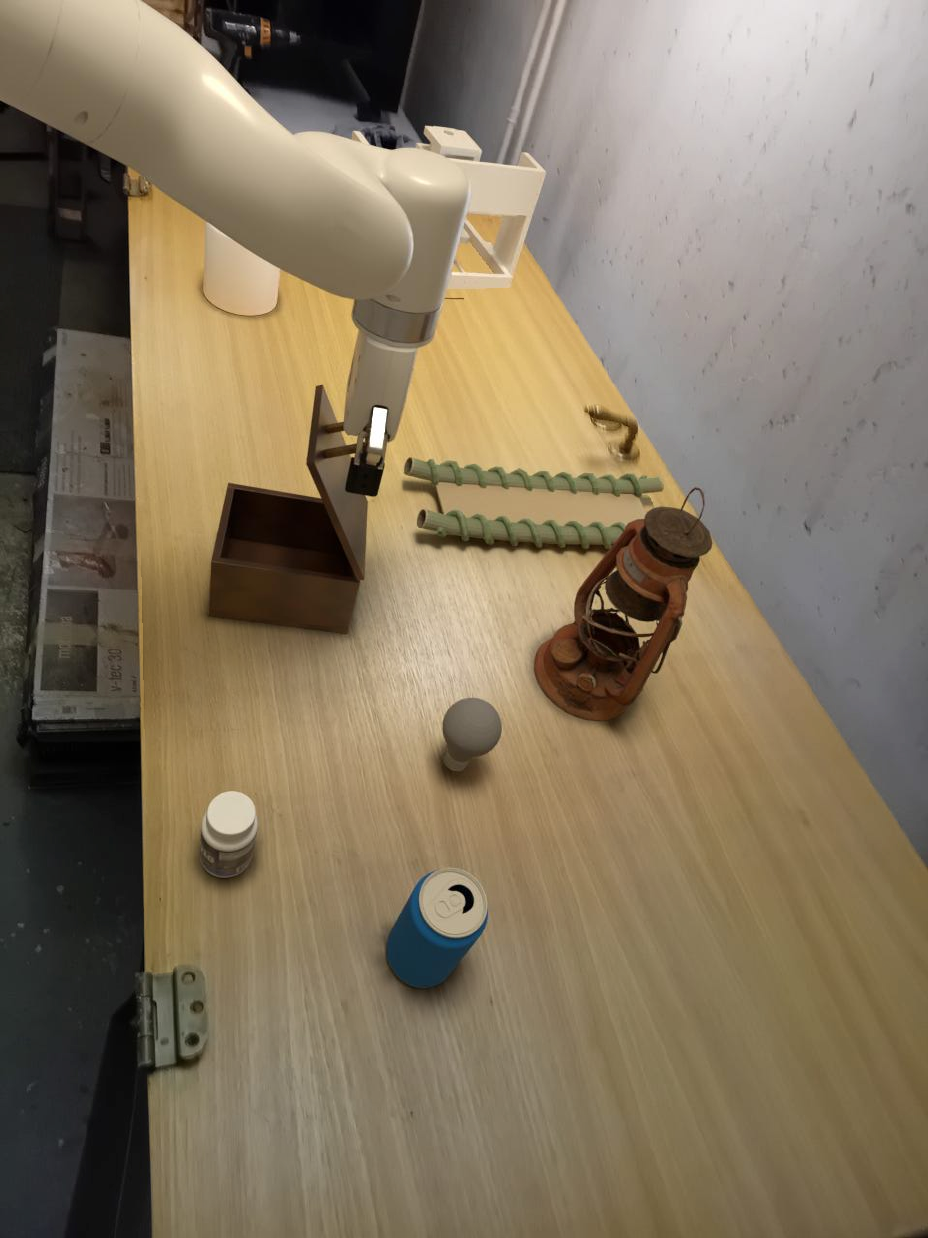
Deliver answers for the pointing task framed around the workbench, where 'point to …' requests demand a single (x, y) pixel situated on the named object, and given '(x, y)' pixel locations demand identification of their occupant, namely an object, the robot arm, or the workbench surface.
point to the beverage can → (437, 927)
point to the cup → (237, 276)
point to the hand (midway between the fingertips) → (362, 461)
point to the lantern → (641, 589)
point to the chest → (280, 562)
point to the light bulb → (469, 731)
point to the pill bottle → (228, 834)
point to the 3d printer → (489, 204)
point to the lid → (337, 480)
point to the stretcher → (531, 504)
